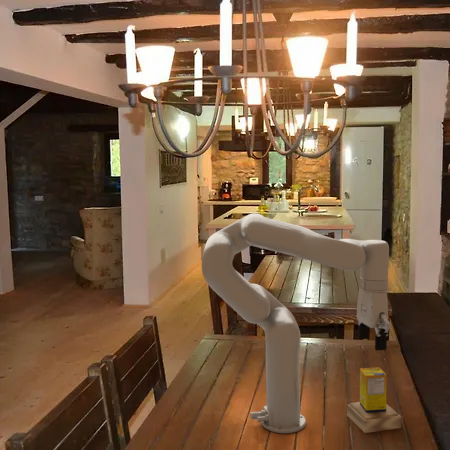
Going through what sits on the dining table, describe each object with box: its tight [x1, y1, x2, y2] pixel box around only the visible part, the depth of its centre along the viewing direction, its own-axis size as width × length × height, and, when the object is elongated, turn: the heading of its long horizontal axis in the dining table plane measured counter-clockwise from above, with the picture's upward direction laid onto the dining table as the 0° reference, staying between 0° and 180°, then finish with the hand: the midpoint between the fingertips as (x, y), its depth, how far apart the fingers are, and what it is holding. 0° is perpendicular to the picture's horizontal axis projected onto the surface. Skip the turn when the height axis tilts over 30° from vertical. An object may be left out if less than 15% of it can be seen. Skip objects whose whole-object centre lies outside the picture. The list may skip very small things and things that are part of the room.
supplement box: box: [359, 366, 387, 413], centre depth 159 cm, size 6×6×11 cm
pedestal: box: [346, 401, 402, 434], centre depth 160 cm, size 11×11×4 cm
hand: (372, 344), depth 157 cm, fingers open, 9 cm apart
